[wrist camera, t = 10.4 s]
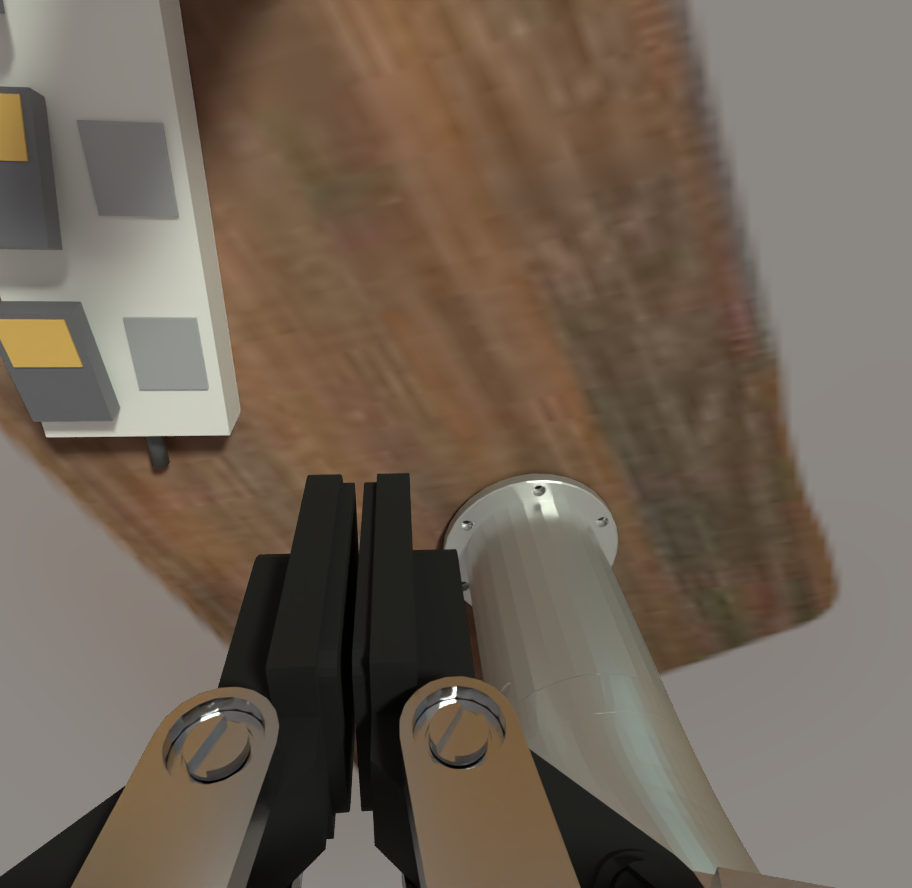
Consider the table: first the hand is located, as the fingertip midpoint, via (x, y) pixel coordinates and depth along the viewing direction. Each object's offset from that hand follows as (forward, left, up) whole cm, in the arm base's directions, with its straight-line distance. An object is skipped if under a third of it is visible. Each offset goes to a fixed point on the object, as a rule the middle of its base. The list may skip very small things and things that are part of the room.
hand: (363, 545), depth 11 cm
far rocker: (-6, +17, -23) cm, 29 cm away
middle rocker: (+3, +17, -23) cm, 28 cm away
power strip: (+2, +14, -27) cm, 31 cm away
